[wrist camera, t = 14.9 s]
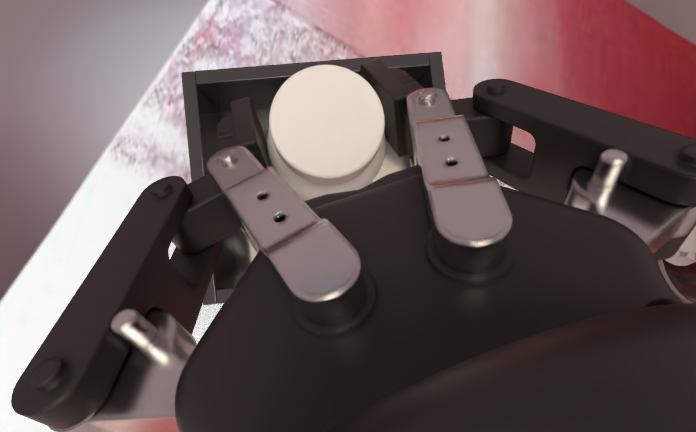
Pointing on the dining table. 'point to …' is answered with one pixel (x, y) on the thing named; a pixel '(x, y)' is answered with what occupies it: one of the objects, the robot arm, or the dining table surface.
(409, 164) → the open box
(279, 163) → the pill bottle
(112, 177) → the dining table surface
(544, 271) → the robot arm
